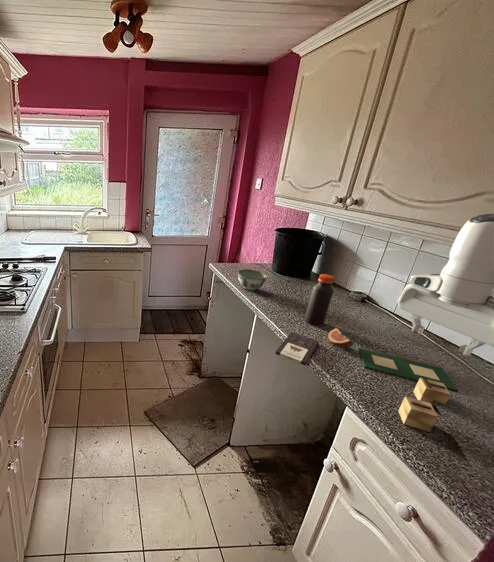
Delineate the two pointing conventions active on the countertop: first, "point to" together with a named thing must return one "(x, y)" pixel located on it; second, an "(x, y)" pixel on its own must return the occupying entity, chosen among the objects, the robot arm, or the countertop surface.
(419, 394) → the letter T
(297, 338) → the chocolate bar
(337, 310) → the countertop surface
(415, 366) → the word mat
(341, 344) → the fruit slice
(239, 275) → the bowl
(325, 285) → the bottle
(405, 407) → the light wooden cube
